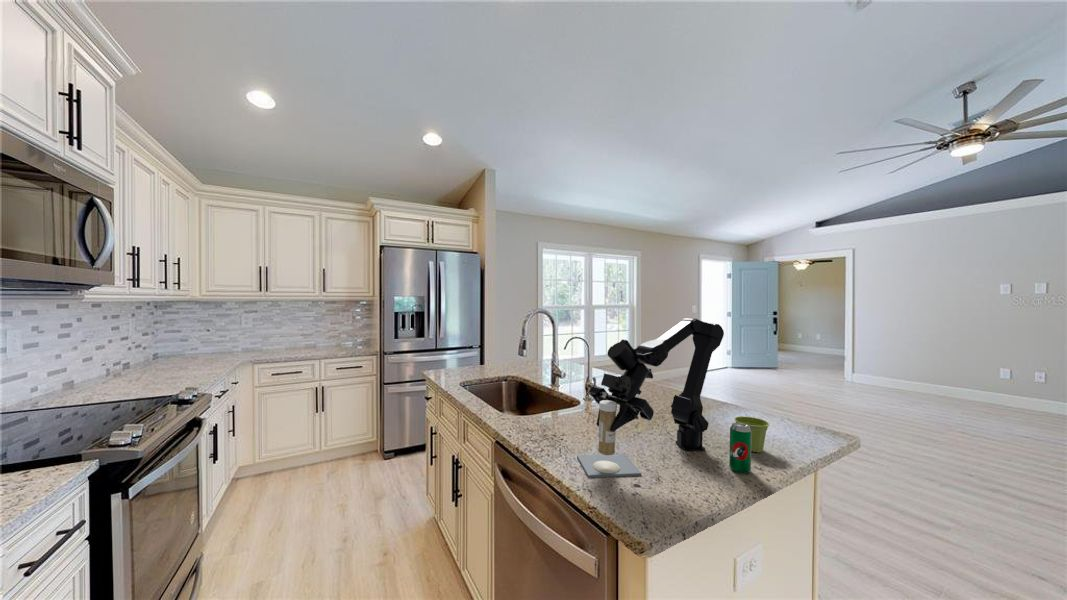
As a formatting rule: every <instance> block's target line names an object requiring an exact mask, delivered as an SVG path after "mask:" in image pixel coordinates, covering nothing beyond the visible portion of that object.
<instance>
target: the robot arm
mask: <svg viewBox="0 0 1067 600" xmlns="http://www.w3.org/2000/svg"><path fill="white" fill-rule="evenodd" d="M691 335H692V342H693V345H694V351H693V355H692V358H691V363H690V366H689V368H688V374H687V375H686V376H687V377H686V380H685V384H684V388H683V391H682V392H681V393H680V394H679V395H678V394H674V396H673V399H672V400H673V401H672V403H671V405H670V407H671V413H670V414H671V416H672V418H673V421H674V424H675V425H678V429H677V431H676V440H675V444H677V445H678V446H679V447H680V448H682V449H683V450H684V451H687V452H688V451H689V452H690V451H706V447H705V446H703V433H704V432H705V431H707V430H708V429H709V425H710V423H709V422H708V420H707V419H706V418H705V417H704V416H703V409H704V408H703V403H702V399H701V394H702V391H703V387H704V384H705V379H706V377H707V373H708V369H709V366H710V362H711V359H712V354H713V353H714V352H715V351H716V350H717V349H718V348H719V346H720V345H722V340H723V338H724V336H725V331H724V329H723V328H722V326H721V325H720V324H719V323H710V322H705V321H702V320H700V319H698V318H692V317H691V318H690V317H684V318H682V319H681V321H680V322H678V323H677V324H676V325H674V326H672V327H671V328H670V329H669V330H667V331H666V332H665V333H663V334H662V335H660V336H659V337H657V338H655V339H651V340H647V341H645V342H643V343H640V344H639V345H638V346H637V347H635V348H633V346H631V344H630V342H629V340H627V339H621V340H620V341H619V342H616V343H614V344H613V345H612V346H609V348H608V350H607V353H606V354H607V356H608V357H609V359H610V360H611V361H612V362H613V363H614V364H615V366H616V367H617V368H618V369H619V370H620V371H624V372H623V374H621V375H617V376H616V375H613V374H608V373H604V374H603V376H602V380H601V383H600V385H601V386H602V387H600V386H596V385H594V386H593V385H592V386H591V387H590V389H589V390H588V394H589V395H590V396H591V397H592V399H593V400H594V401H595V403H597V404H598V405H599V403H600V401H602V400H610V401H614V402H616V403H617V406H618V405H619V411H618V412H617V413H616V418H615V419H614V421H613V423H612V425H611V427H610V431H611V432H614V431H615V430H616V431H617V430H619V429H620V428H622V427H623V426H625V425H626V424H628V423H630V422H632V421H634V420H639V416H640V418H641V419H643V420H647V421H652V419H653V417H654V409H653V407H652V406H651V405H650V403H649V402H648V401H647V399H644V398H641V397H637V395H641V394H642V390H641V387H642V386H643V384H644V382H645V380H646V379H651V380H652V379H653V378H654V374H653V372H652V369H651V368H648V367H647V365H648V366H651V367H659V366H661V365H662V364H663V363H664V362H665V361H666V359H667V358H668V357H669V356H668V355H669V352H670V351H671V350H672V349H674V348H675V347H676V346H678V345H679V344H680V343H682V342H683V341H685V340H686V339H687V338H688V337H690V336H691ZM603 386H604V387H606V388H608V390H606V389H605V388H603ZM607 391H608V392H609V393H611V394H609V393H608V392H607ZM599 418H600V409H599V408H598V414H597V418H596V419H597V420H596V426H597V427H598V428H599Z"/></svg>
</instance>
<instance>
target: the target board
mask: <svg viewBox="0 0 1067 600" xmlns="http://www.w3.org/2000/svg"><path fill="white" fill-rule="evenodd" d="M576 458H577V459H578V462H579V464H580V465H581V467H582V469H583V471H584V472H585V474H586V476H587V478H588V477H589V478H608V477H609V478H610V477H613V478H614V477H636V476H637V477H638V476H639V477H641V476H642V471H640V469H639V468H638V467H637V466H636V465H635V464H634V463H633V461H632V460H631V459H630V458H629V457H628V456H627V455H626V454H625V453H615V454H613V455H603V454H601V453H598V454H577V455H576Z"/></svg>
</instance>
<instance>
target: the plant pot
mask: <svg viewBox="0 0 1067 600" xmlns="http://www.w3.org/2000/svg"><path fill="white" fill-rule="evenodd" d="M733 420H734V422H735V423H742V424H746V425H748V426H750V429H751V431H752V434H751V452H753V453H755V452H757V453H758V452H759V453H762V452H764V445H765V441H766V434H767V430H768V428H769V427H770V422H768V421H766V420H764V419H761V418H759V417H754V416H742V415H741V416H740V415H739V416H736V417H734V418H733Z"/></svg>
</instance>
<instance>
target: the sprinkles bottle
mask: <svg viewBox="0 0 1067 600" xmlns="http://www.w3.org/2000/svg"><path fill="white" fill-rule="evenodd" d="M599 409H600V418H599V427H598V449H597V451H598V454H603V455H613V454H616V447H615V446H616V434H617V433H616V431H617V430H615V431H614V432H611V431H610V427H611V425H612V423H613V421H614V419H615V418H616V416H617V413H616V412H617V411H618V410H617V409H618V404H617V403H616V402H614V401H610V400H602V401H600V403H599V404H598V410H599Z"/></svg>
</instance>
